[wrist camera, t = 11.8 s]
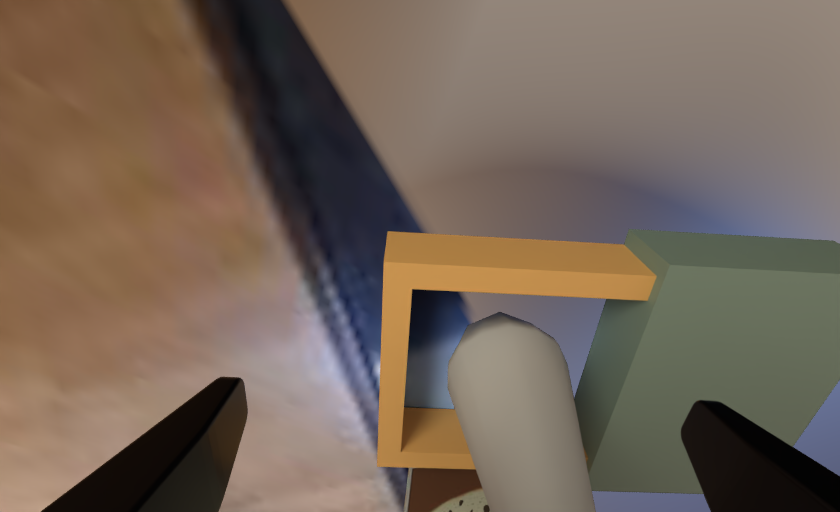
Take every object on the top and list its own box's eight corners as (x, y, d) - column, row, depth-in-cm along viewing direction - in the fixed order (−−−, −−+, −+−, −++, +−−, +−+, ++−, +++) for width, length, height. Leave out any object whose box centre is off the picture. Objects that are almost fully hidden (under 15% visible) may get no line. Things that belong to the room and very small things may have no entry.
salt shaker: (425, 325, 22) (439, 645, 10) (527, 280, 21) (673, 583, 9) (471, 397, 24) (525, 721, 13) (566, 360, 23) (719, 680, 12)
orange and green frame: (717, 441, 26) (758, 495, 23) (380, 430, 25) (376, 484, 22) (833, 240, 20) (910, 277, 17) (388, 215, 19) (383, 249, 16)
